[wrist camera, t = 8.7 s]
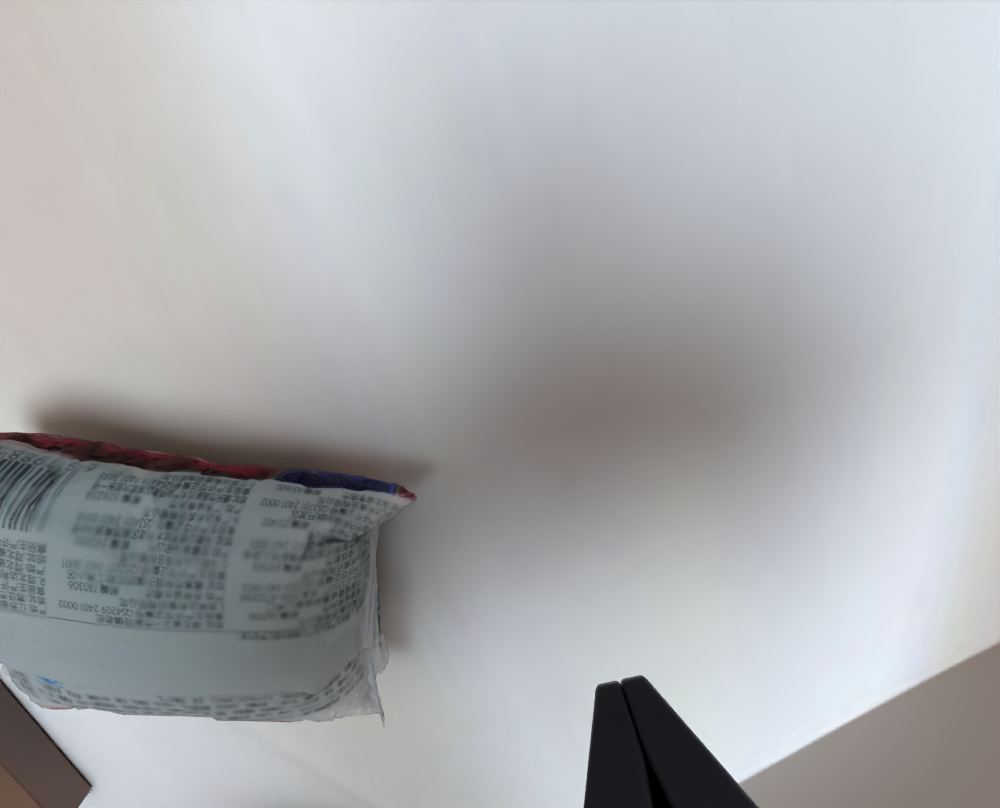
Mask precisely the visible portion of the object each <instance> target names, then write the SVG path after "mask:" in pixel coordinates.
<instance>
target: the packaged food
mask: <svg viewBox="0 0 1000 808" xmlns="http://www.w3.org/2000/svg"><path fill="white" fill-rule="evenodd" d="M416 499H417V497H416V496H415V494H413V493H411V492H408V491H407V490H406V489H405V488H404V487H403V486H401V485H398V484H396V483H386V482H382V481H378V480H374V479H369V478H366V477H363V476H355V475H347V474H337V473H329V472H320V471H310V470H300V469H290V468H279V469H277V468H270V467H264V466H251V465H241V464H233V465H220V464H216V463H213V462H209V461H206V460H203V459H200V458H196V457H188V456H181V455H172V454H168V453H164V452H155V451H147V450H140V449H132V448H126V447H123V446H121V445H118V444H113V443H110V444H107V443H104V442H93V441H87V440H82V439H77V438H72V437H63V436H60V435H56V434H45V433H18V432H12V433H0V663H2V664H4V665H3V667H2V669H3V671H4V672H5V673H6V674H7V675H8V676H10V678H11V680H12V682H13V683H14V684H15V685H16V686H17V687H18V689H19V690H21V691H23V692H24V693H25V694H27V695H28V696H29V698H30V701H33V702H34V703H35V704H37V705H39V706H41V708H48V709H72V708H76V709H78V710H79V709H97V710H103V711H109V712H113V713H118V714H122V715H155V716H193V717H212V718H214V719H216V720H221V721H268V722H296V721H303V720H311V721H317V722H320V721H328V720H329V721H333V719H334V718H335V717H337V718H342V717H344V716H351V715H368V714H373V713H379V714H380V715H381V719H382V722H383V727H384V712H383V709H382V706H381V702H380V698H379V693H378V688H377V683H376V674H377V672H378V673H380V674H381V673H382V671H383V670H384V668H385V666H386V665H387V663H388V658H389V652H388V648H387V644H386V640H385V636H384V634H383V633H381V635H380V616H379V613H378V612H379V609H380V604H379V589H378V585H377V571H376V561H375V558H376V550H377V542H378V535H379V526H380V525H382V524H384V523H385V522H387V521H388V520H390V519H392V518H393V517H395V516H396V515H397V514H398V513H399V512H400V511H401V510H403V509H404V508H405V507H406V506H408V505H410V504H412V503H415V502H416ZM376 640H377V641H376Z"/></svg>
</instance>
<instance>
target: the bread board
mask: <svg viewBox="0 0 1000 808" xmlns="http://www.w3.org/2000/svg"><path fill="white" fill-rule="evenodd" d="M90 790H91V787H90V786H89V785H88V784H87V782H86V781H85V780H84V779H83V778H82V777H81V775H80V774H79V773H78V772H77V771H76V770H75V768H74V767H73V766H72V765H71V764H70V763H69V761H68V760H67V759H66V758H65V757H64V756H63V754H62V753H61V752H60V751H59V750H58V749H57V747H56V746H55V745H54V744H53V743H52V742H51V740H50V739H49V738H48V737H47V736H46V735H45V733H44V732H43V731H42V730H41V729H40V728H39V726H38V725H37V724H36V723H35V722H34V721H33V719H32V718H31V717H30V716H29V715H28V714H27V712H26V711H25V710H24V709H23V708H22V707H21V705H20V704H19V703H18V702H17V701H16V700H15V698H14V697H13V696H12V695H11V694H10V693H9V691H8V690H7V689H6V688H5V687H4V686H3V684H2V683H1V682H0V808H78V807H79V806H80V804H81V803H82V801H83V800H84V798H85V797H86V795H87V794H88V793H89V791H90Z"/></svg>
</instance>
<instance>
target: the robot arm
mask: <svg viewBox="0 0 1000 808" xmlns="http://www.w3.org/2000/svg"><path fill="white" fill-rule="evenodd" d="M584 808H759V807H758V806H757V805H756V804H755V803H754V802H753V801H752V799H751V798H750V797H749V796H748V795H747V793H746V792H744V790H743V789H742V788H741V787H740V785H739V784H738V783H737V782H736V781H735V780H734V779H733V777H732V776H731V775H730V774H729V773H728V772H727V771H726V769H725V768H724V767H723V766H722V765H721V764H720V762H719V761H718V760H717V759H716V758H715V757H714V756H713V754H712V753H711V752H710V751H709V750H708V749H707V748H706V746H705V745H704V744H703V743H702V742H701V741H700V740H699V738H698V737H697V736H696V735H695V734H694V733H693V731H692V730H691V729H690V728H689V727H688V726H687V725H686V723H685V722H684V721H683V720H682V719H681V718H680V717H679V715H678V714H677V713H676V712H675V711H674V710H673V709H672V707H671V706H670V705H669V704H668V703H667V702H666V700H665V699H664V698H663V697H662V696H661V695H660V694H659V692H658V691H657V690H656V689H655V688H654V687H653V686H652V684H651V683H650V682H649V681H648V680H647V679H646V678H645V677H644V676H641V675H638V676H634V677H630V678H625V679H622V681H621V684H620V683H619V682H618V681H612V682H607V683H603V684H599V685H598V686H597V688H596V692H595V702H594V711H593V721H592V731H591V741H590V751H589V761H588V771H587V781H586V790H585V800H584Z"/></svg>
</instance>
